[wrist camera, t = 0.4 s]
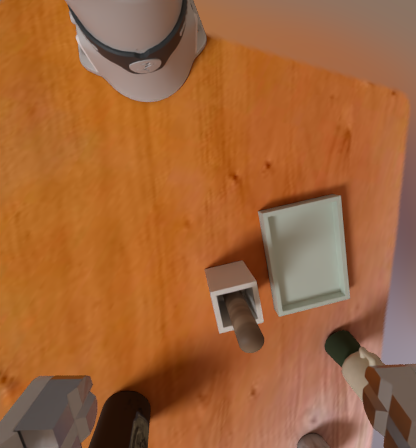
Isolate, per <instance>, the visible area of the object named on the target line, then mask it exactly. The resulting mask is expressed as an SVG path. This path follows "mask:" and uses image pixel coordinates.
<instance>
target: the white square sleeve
mask: <svg viewBox="0 0 416 448" xmlns="http://www.w3.org/2000/svg"><path fill="white" fill-rule="evenodd" d="M205 274H206V278H207V282H208V287H209V291H210V296H211V300H212V304H213V308H214V313H215V317H216V321H217V325H218V329H219V334H220V333H223V332H227V331H231V330H234V328H233V325H232V322H231V319H230V316H229V313H228V310H227V307H226V304H225V301H224V298H223V295H222V294H226V293H230V292H234V291H238V290H241V292H242V294H243V296H244V298H245V300H246V302H247V304H248V306H249V308H250V310H251V312H252V314H253V316H254V318H255V320H256V322H257V324H259V323H263V322H264V320H263V315H262V309H261V304H260V298H259V293H258V287H257V282H256V280H255V278H254V277H253V275H252V274H251V272H250V271H249V269H248V268H247V266H246V265H245V263H244V262H243V260H241V261H237V262H233V263H229V264H225V265H221V266H216V267H212V268H208V269H205Z"/></svg>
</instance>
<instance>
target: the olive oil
mask: <svg viewBox="0 0 416 448" xmlns="http://www.w3.org/2000/svg"><path fill="white" fill-rule="evenodd" d="M149 423H150V404H149V402H148V400H147V399H146V398H145V397H144V396H143V395H141V394H139V393H137V392H132V391H123V392H119V393H116V394H114V395H112V396H111V397H110V398H109V399H108V400H107V401H106V402H105V404H104V406H103V409H102V412H101V414H100V417H99V420H98V423H97V426H96V429H95V431H94V434H93V437H92V440H91V442H90V445H89V448H148V435H149Z"/></svg>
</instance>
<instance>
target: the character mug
mask: <svg viewBox="0 0 416 448" xmlns="http://www.w3.org/2000/svg"><path fill="white" fill-rule="evenodd" d="M325 350H326V352H327V353H328V354H329V355H330V356H331V357H332V358H333V359H334V360H335V361H336V362H337V363H338V364H339V365H340V366H341V367H342V374H343V376H344V378H345V380H346V381H347V382H348V384H349V385H350V386H351V388H352V389H353V390H354V391H355V393H356V394H357V395H358V397H359V398H360V399H361V400H362V395H363V388H364V387H365V386H366V385H367V384H368V381H367V380H366V378H365V370H366V368H367V367H368V366H377V365H385V364H384V363H382V361H381V360H380V358H379V357H378V356H377V355H375V354H374V353H371V352H368V351H367V350H366V349H365V348H364V347H361V346H360V344H359V343H358V342H357V341H356V339H355V338H354V337H353V336H352V335H351V334H350V332H348V331H345V330H342V331H338V332H336V333H334V334H332V335H331V336H330V337H329V338H328V339H327V340H326V343H325ZM362 402H363V400H362Z"/></svg>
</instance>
